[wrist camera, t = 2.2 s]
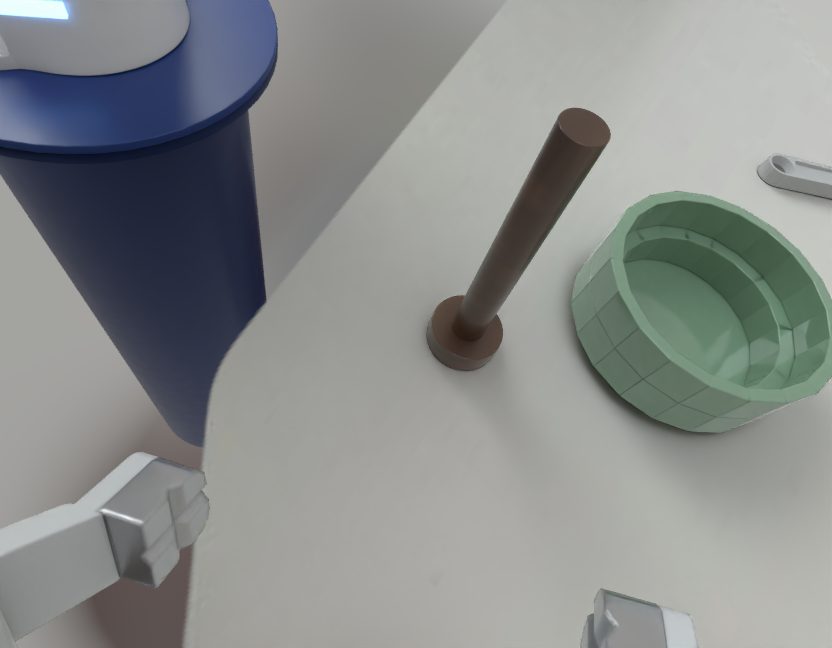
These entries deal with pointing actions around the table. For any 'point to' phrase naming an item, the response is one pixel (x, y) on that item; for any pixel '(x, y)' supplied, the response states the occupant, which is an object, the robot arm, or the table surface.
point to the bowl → (703, 314)
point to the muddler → (517, 241)
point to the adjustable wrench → (797, 175)
